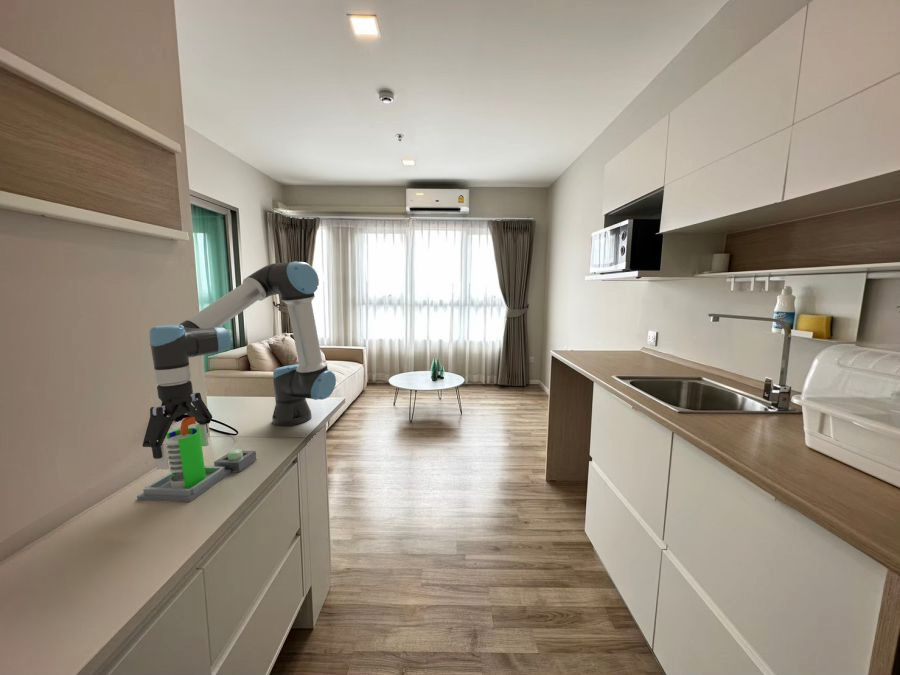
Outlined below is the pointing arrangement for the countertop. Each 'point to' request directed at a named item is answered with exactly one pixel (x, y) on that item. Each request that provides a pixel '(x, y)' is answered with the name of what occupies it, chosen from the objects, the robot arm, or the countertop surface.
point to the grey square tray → (165, 492)
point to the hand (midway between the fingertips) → (184, 456)
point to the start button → (235, 454)
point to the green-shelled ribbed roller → (185, 455)
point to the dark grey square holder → (236, 461)
